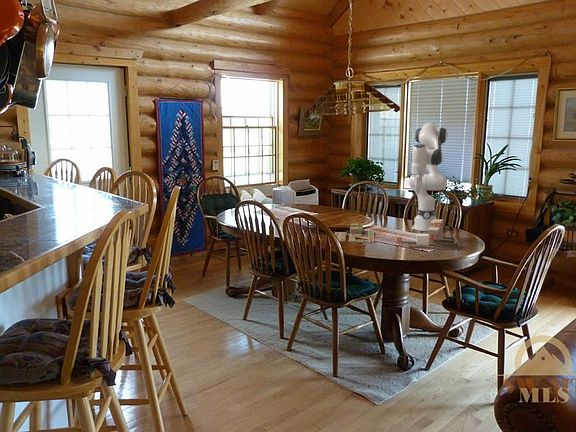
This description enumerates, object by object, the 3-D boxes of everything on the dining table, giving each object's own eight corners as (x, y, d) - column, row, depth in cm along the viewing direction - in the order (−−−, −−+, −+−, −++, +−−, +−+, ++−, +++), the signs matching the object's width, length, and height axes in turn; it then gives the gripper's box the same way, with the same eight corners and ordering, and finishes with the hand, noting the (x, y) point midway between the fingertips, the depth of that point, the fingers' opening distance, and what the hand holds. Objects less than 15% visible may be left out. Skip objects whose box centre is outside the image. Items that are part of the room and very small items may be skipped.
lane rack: (408, 243, 312) (408, 235, 311) (455, 245, 306) (456, 237, 305) (408, 248, 301) (408, 239, 300) (457, 250, 295) (458, 241, 294)
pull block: (396, 242, 310) (397, 232, 309) (428, 243, 307) (428, 233, 306) (396, 244, 305) (397, 234, 304) (428, 245, 301) (429, 236, 300)
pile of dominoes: (335, 230, 353) (335, 223, 352) (374, 231, 348) (374, 224, 347) (331, 242, 319) (331, 233, 318) (374, 243, 315) (374, 235, 314)
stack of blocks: (437, 244, 308) (438, 225, 306) (426, 243, 311) (427, 224, 309) (442, 237, 327) (443, 219, 325) (433, 236, 330) (433, 218, 328)
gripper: (424, 172, 298) (423, 195, 300) (423, 169, 318) (422, 191, 320) (414, 172, 299) (413, 195, 302) (412, 169, 319) (412, 190, 321)
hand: (417, 193), depth 311 cm, fingers open, 8 cm apart
